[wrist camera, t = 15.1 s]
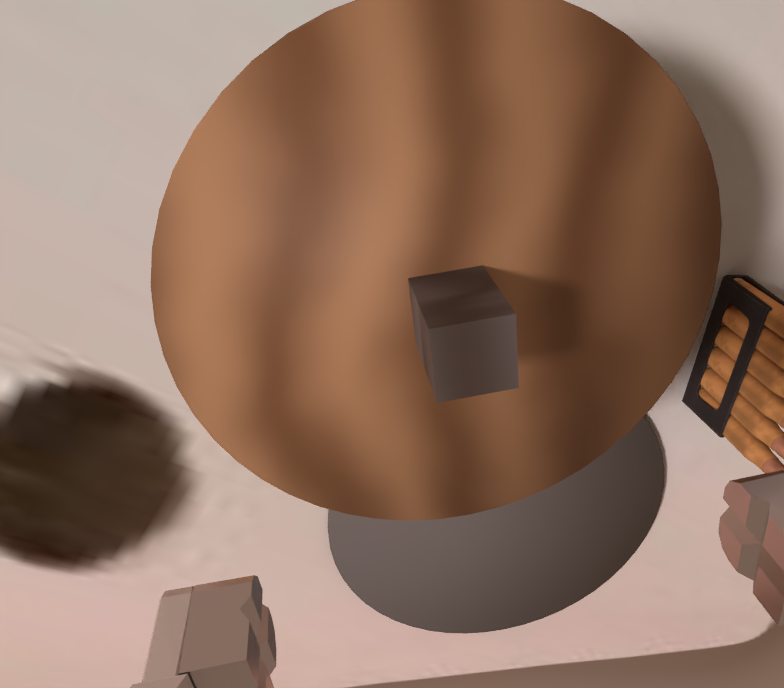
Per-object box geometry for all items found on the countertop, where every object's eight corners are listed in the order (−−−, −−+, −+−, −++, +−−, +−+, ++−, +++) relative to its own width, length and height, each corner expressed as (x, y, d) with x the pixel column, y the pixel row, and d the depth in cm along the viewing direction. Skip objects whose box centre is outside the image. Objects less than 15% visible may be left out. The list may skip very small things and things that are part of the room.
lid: (744, -63, 25) (862, -77, 20) (683, 460, 38) (745, 535, 33) (63, 35, 24) (-1, 49, 19) (235, 546, 37) (226, 640, 31)
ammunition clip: (723, 274, 47) (849, 357, 36) (747, 275, 47) (879, 357, 36) (681, 401, 52) (781, 506, 41) (703, 401, 52) (808, 505, 41)
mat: (676, 336, 48) (680, 340, 48) (647, 595, 62) (650, 600, 62) (298, 400, 47) (298, 405, 46) (354, 652, 60) (354, 658, 60)
